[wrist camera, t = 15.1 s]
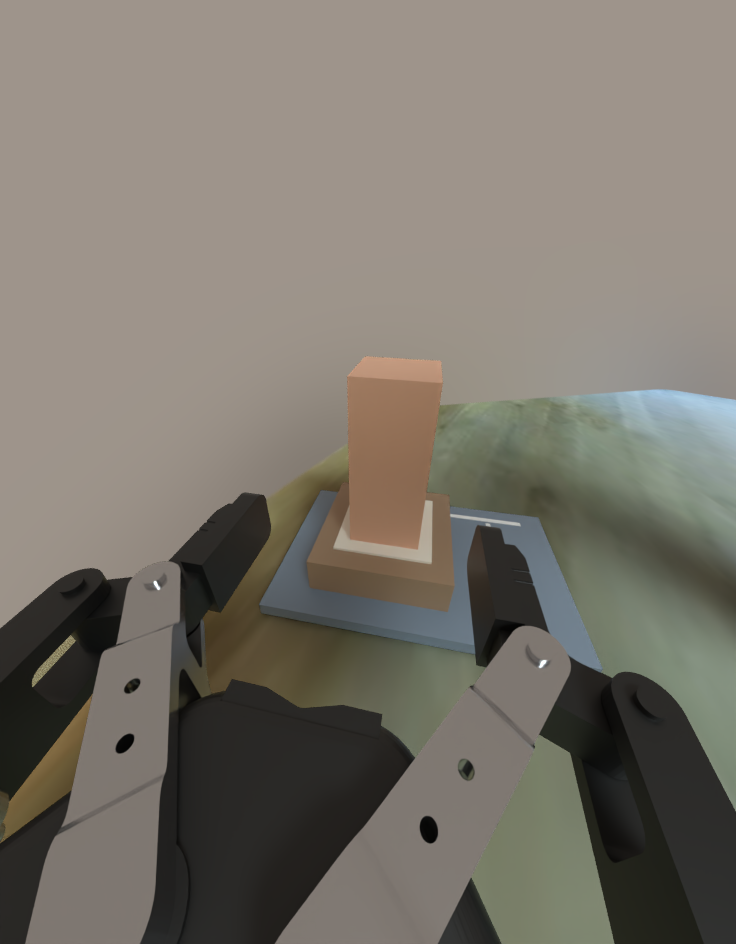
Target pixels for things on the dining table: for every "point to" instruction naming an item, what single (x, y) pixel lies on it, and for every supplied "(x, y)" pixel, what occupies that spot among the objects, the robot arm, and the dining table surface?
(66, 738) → the dining table surface
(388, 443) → the terracotta pillar
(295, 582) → the blueprint board
